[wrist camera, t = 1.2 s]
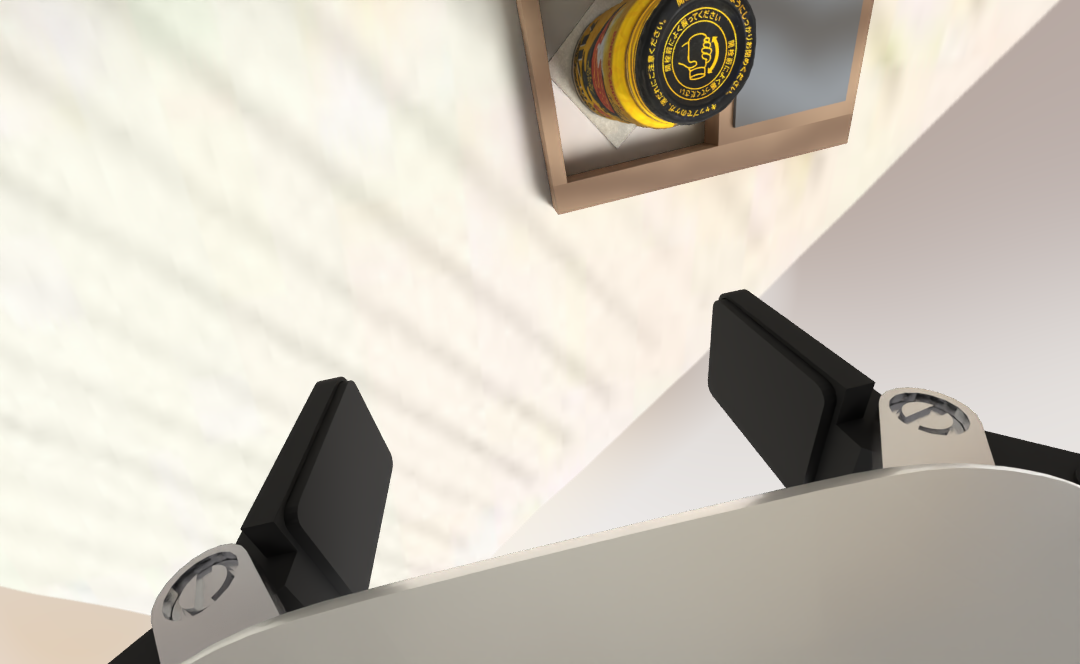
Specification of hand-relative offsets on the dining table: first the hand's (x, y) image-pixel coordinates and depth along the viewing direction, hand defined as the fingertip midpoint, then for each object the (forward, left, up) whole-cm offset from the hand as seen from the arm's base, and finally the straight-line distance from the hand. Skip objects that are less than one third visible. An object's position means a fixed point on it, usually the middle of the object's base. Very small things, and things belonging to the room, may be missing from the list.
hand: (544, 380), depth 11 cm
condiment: (-6, +11, -23) cm, 26 cm away
